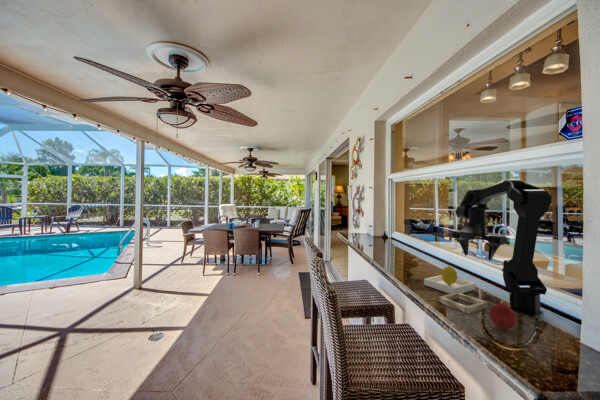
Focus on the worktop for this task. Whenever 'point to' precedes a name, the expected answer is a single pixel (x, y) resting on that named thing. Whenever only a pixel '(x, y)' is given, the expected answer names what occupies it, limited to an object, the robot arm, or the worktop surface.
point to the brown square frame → (469, 309)
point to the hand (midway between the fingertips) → (477, 257)
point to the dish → (458, 286)
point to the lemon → (449, 275)
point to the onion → (503, 315)
